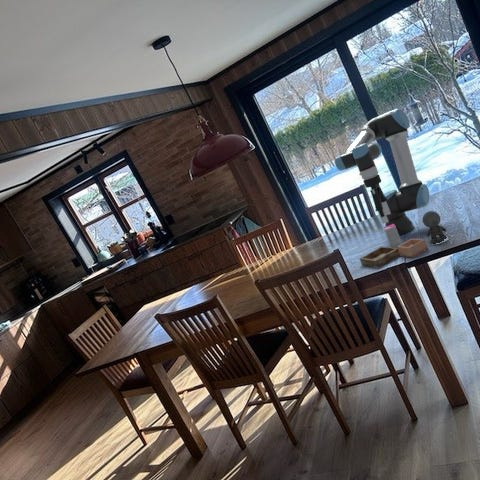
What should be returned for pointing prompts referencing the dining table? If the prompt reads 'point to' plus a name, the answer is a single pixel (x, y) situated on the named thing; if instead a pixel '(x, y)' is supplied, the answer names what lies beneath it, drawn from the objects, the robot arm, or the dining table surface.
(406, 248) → the tan square open box
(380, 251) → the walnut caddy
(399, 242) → the supplement box
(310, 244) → the dining table surface
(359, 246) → the dining table surface
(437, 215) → the figurine
